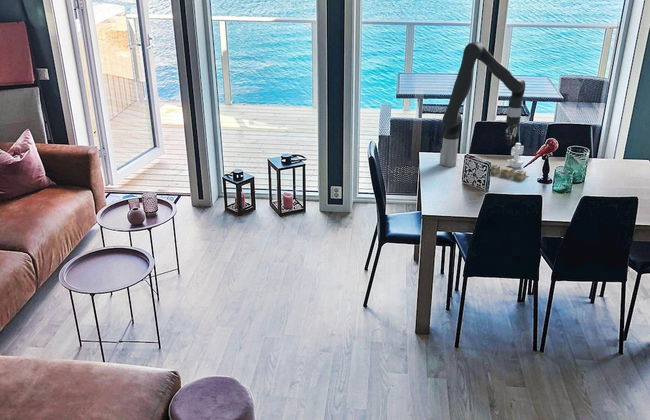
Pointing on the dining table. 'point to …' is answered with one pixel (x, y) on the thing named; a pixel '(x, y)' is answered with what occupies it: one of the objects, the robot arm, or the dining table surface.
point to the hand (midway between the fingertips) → (510, 144)
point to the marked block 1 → (495, 168)
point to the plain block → (506, 171)
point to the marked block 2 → (519, 174)
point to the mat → (507, 177)
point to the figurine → (516, 156)
